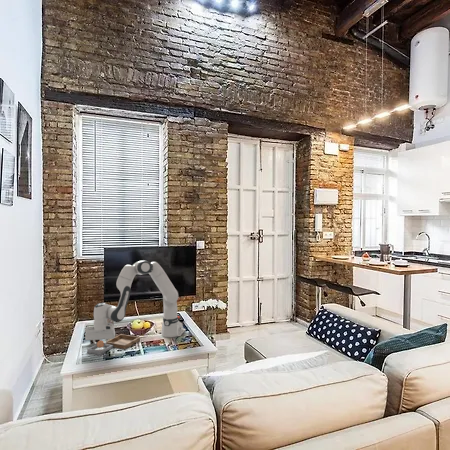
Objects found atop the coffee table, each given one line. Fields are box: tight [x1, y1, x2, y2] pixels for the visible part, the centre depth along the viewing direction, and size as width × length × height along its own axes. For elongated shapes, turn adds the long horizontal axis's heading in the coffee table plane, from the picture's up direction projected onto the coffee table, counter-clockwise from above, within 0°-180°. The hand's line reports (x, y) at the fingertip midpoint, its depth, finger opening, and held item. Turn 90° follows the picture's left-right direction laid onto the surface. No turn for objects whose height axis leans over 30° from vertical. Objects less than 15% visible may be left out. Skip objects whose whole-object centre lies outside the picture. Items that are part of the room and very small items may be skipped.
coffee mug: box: [83, 332, 100, 345], centre depth 248 cm, size 12×9×10 cm
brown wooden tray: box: [105, 333, 141, 350], centre depth 245 cm, size 18×18×4 cm
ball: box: [97, 339, 105, 349], centre depth 233 cm, size 5×5×5 cm
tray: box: [86, 344, 114, 356], centre depth 233 cm, size 12×12×3 cm
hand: (100, 345), depth 233 cm, fingers closed on ball, 5 cm apart
